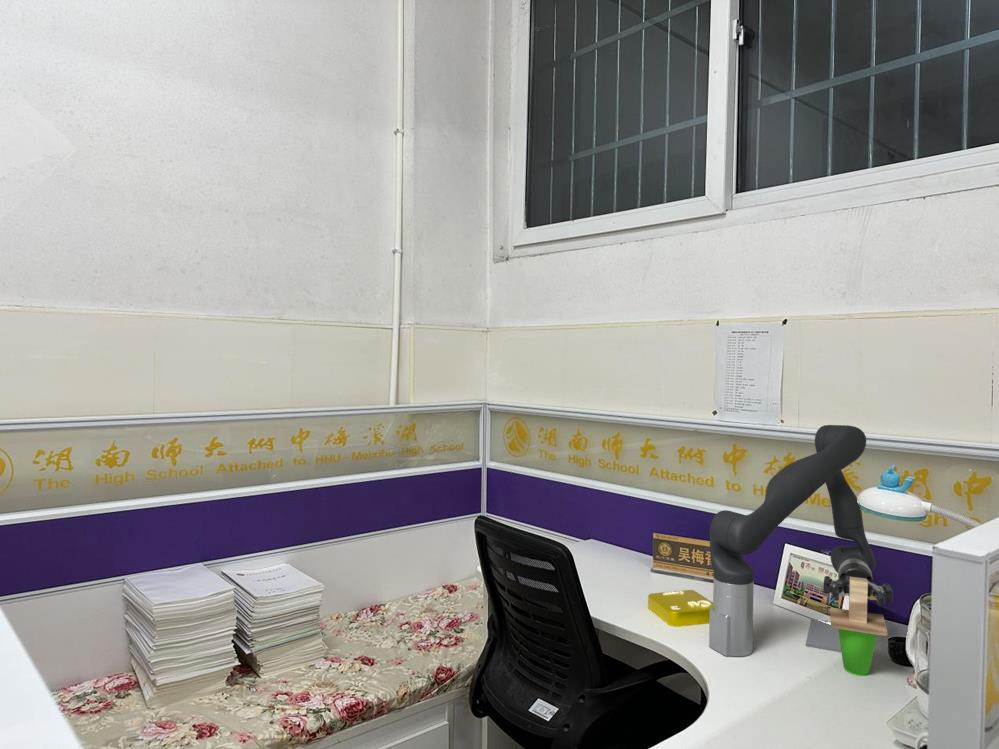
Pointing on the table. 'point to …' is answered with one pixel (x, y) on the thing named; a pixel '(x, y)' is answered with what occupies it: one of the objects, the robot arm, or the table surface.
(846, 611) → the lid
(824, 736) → the table surface
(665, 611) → the element tile
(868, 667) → the cup
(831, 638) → the mat
